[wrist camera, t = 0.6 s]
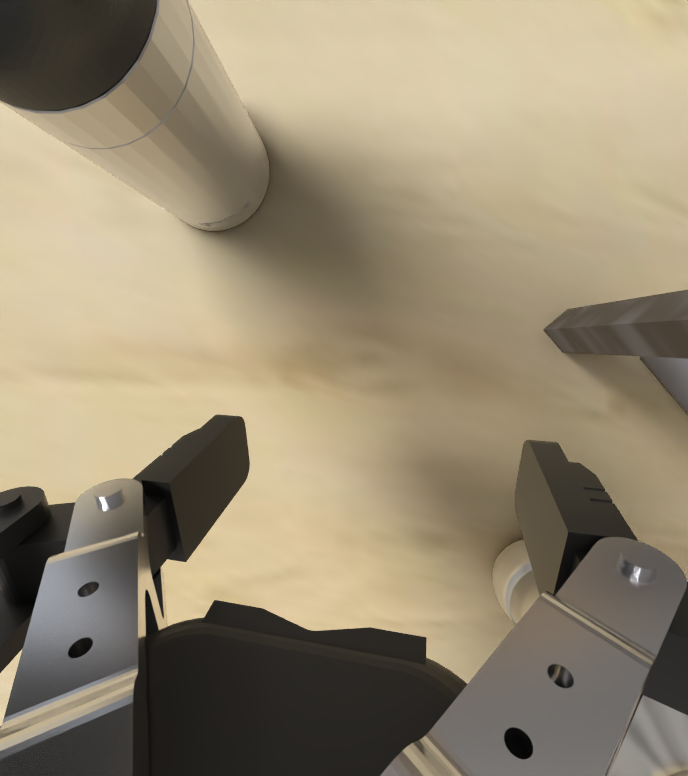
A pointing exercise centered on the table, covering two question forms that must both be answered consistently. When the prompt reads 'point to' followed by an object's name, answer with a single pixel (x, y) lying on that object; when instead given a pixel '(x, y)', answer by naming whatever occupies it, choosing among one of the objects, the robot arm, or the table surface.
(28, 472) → the table surface
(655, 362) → the counter stand
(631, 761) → the plastic bottle
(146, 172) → the robot arm
